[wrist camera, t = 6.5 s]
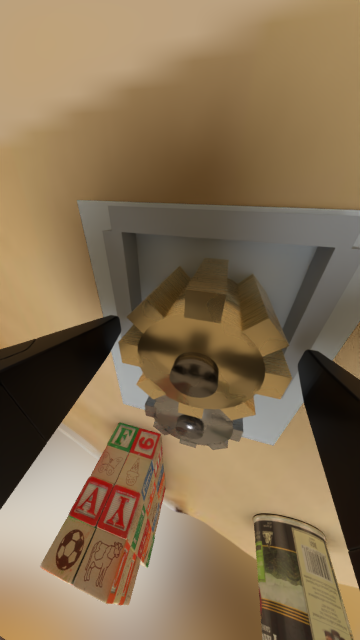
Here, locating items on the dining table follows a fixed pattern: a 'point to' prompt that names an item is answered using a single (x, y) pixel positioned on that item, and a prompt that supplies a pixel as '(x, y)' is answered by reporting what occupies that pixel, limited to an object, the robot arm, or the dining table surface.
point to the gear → (193, 424)
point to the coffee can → (297, 582)
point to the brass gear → (208, 342)
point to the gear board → (233, 276)
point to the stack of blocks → (112, 519)
